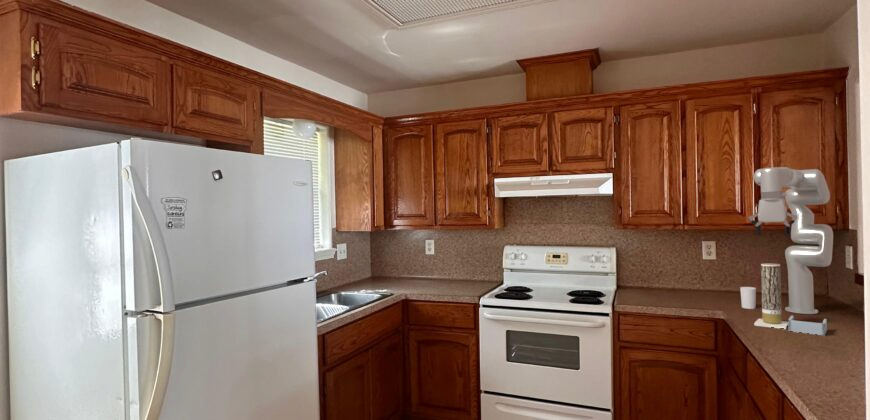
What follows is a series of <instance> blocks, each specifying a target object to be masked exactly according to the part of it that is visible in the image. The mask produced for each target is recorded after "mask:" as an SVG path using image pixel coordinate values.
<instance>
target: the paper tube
mask: <svg viewBox="0 0 870 420" xmlns="http://www.w3.org/2000/svg"><path fill="white" fill-rule="evenodd" d="M760 275H761V276H760V278H761V281H760V282H761V286H760V287H761V314H762V315H761V316H762V317H761V319H762V320H763V321H764V322H766V323H772V324H779V323H781V322H782V321H783V319H782V285H781V284H782V283H781V280H782V279H781V264H780V263H770V262H769V263H766V262H765V263H760Z"/></svg>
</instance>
